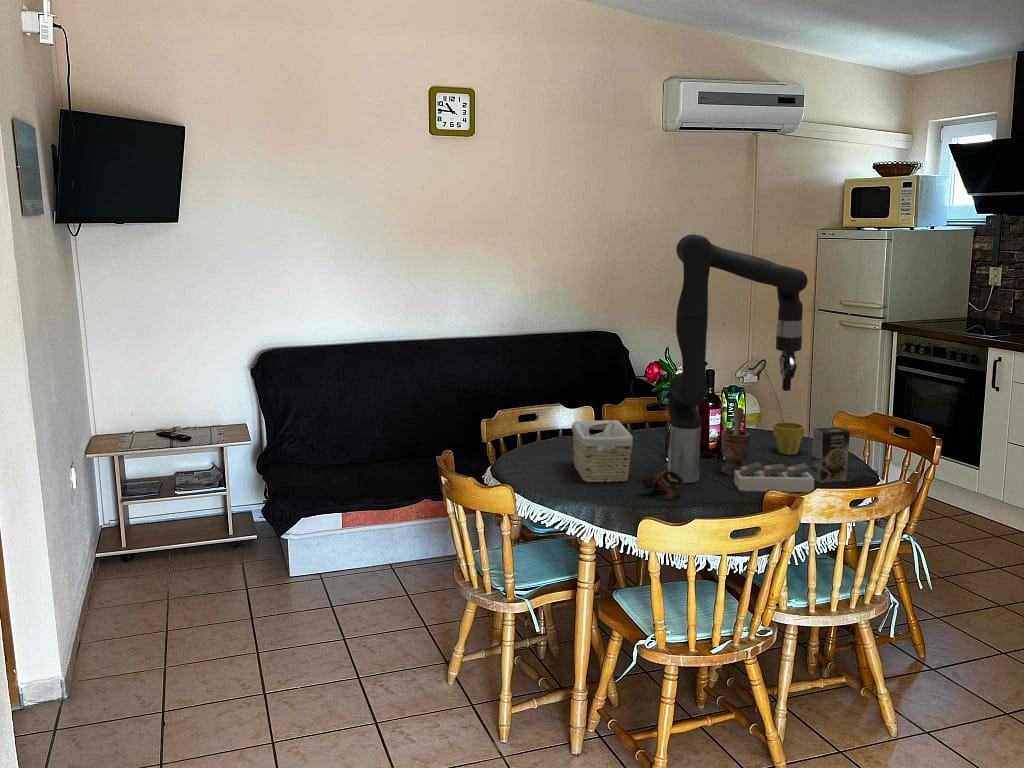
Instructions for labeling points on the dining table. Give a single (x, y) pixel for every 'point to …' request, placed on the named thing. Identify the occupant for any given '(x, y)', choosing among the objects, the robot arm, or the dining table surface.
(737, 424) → the mortar and pestle
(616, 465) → the storage basket
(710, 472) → the dining table surface
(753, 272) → the robot arm
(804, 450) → the dining table surface
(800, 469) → the rocker
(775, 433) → the plant pot
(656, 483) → the brown looped piece
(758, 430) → the dining table surface
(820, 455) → the brown cookie box
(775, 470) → the rocker
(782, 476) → the power strip
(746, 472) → the rocker
